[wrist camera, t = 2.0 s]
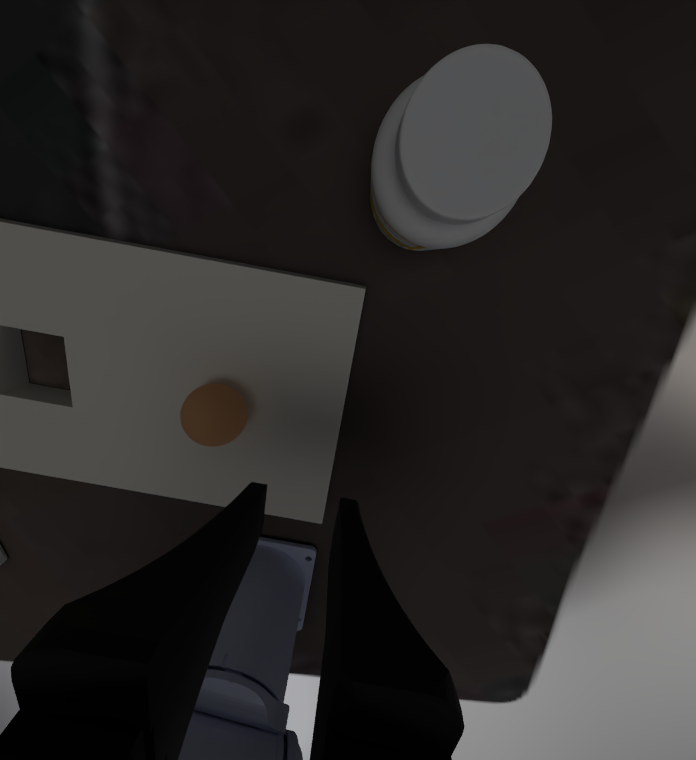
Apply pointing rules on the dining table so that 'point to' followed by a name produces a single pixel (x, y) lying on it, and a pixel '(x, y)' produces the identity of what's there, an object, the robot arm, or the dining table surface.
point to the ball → (213, 414)
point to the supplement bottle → (459, 148)
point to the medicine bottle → (2, 555)
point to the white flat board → (172, 368)
